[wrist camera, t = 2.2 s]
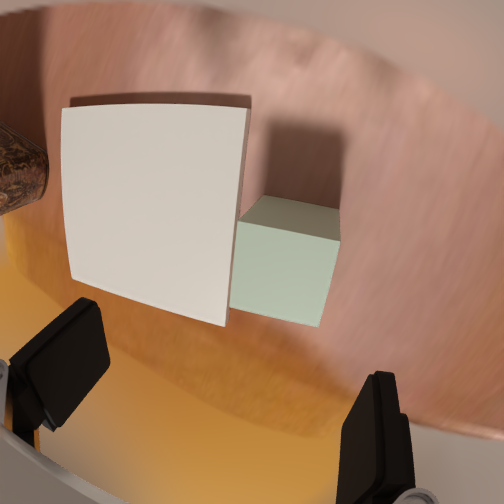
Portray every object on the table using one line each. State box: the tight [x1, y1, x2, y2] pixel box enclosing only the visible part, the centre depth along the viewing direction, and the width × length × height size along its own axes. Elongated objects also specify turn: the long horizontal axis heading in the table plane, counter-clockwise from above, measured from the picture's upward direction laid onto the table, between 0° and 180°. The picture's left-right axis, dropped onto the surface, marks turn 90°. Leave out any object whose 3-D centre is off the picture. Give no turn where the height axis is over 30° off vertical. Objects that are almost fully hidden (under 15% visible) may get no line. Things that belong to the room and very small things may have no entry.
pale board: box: [61, 104, 251, 327], centre depth 23 cm, size 16×16×1 cm
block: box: [229, 195, 340, 327], centre depth 19 cm, size 5×5×6 cm
